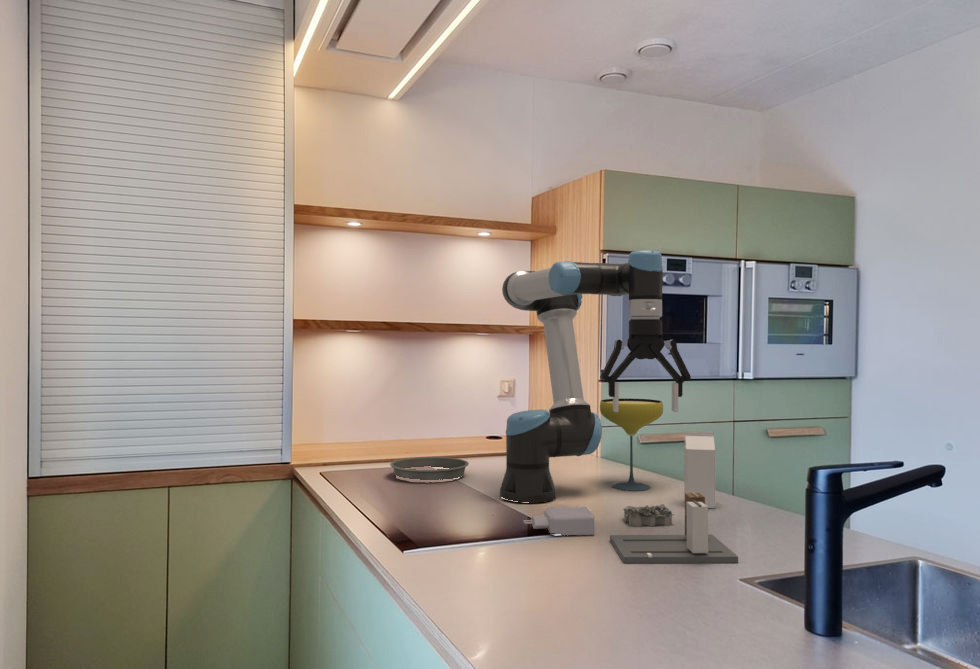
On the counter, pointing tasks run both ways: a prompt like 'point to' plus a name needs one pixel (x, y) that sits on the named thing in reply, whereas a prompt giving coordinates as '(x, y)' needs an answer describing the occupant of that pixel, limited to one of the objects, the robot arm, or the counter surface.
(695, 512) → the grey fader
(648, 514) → the egg carton
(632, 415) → the cocktail glass
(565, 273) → the robot arm
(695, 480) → the milk carton
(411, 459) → the cake pan
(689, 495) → the block
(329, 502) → the counter surface
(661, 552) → the console
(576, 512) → the grey bottle
